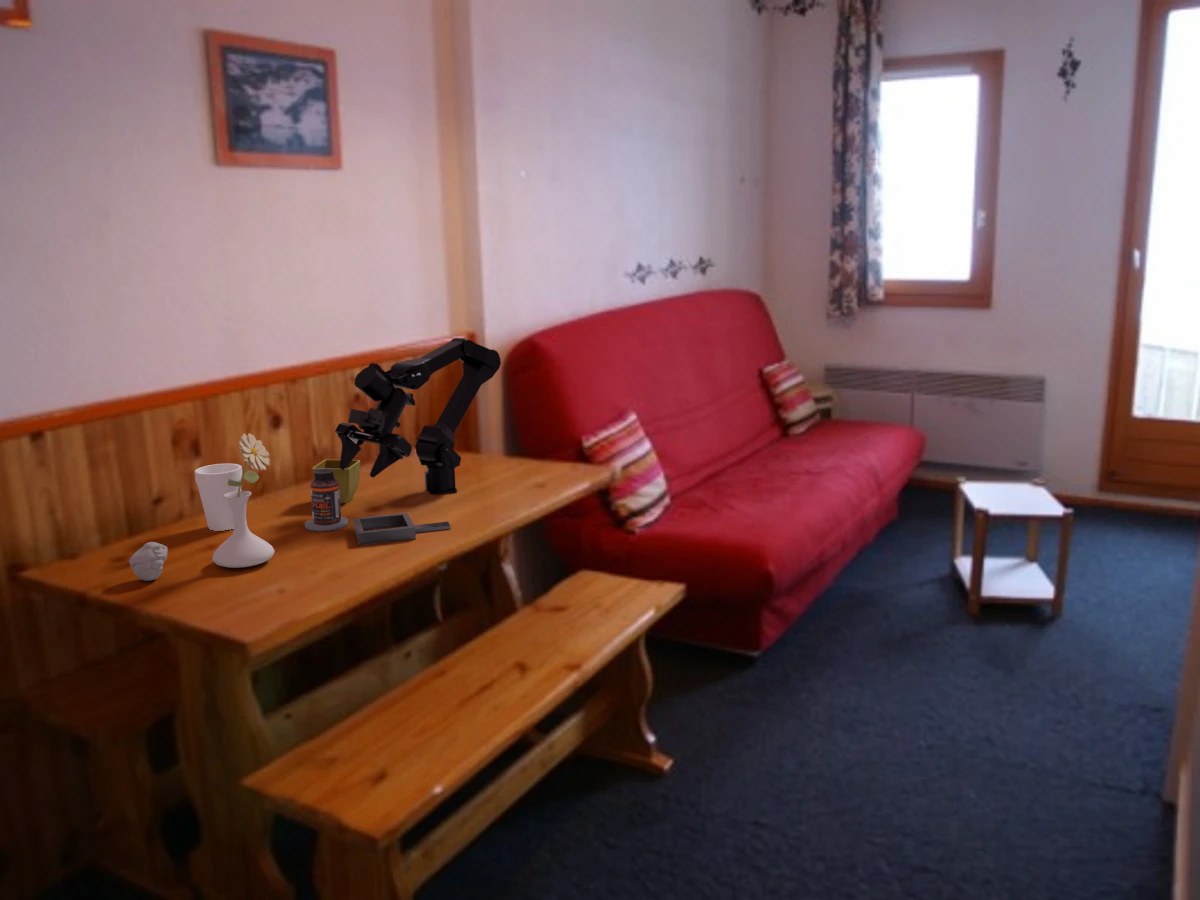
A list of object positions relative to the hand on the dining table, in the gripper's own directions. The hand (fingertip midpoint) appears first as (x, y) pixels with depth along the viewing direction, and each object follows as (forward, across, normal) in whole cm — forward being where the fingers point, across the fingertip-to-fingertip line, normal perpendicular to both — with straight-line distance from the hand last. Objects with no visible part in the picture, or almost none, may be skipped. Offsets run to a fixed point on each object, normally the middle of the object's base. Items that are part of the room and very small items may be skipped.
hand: (356, 472), depth 227 cm
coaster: (+13, 0, 0) cm, 13 cm away
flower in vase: (+29, +4, -19) cm, 35 cm away
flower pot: (+4, -13, +12) cm, 18 cm away
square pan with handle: (+9, +17, +3) cm, 20 cm away
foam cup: (+22, -19, -8) cm, 30 cm away
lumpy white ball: (+40, -3, -30) cm, 50 cm away
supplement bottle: (+12, 0, 0) cm, 13 cm away
